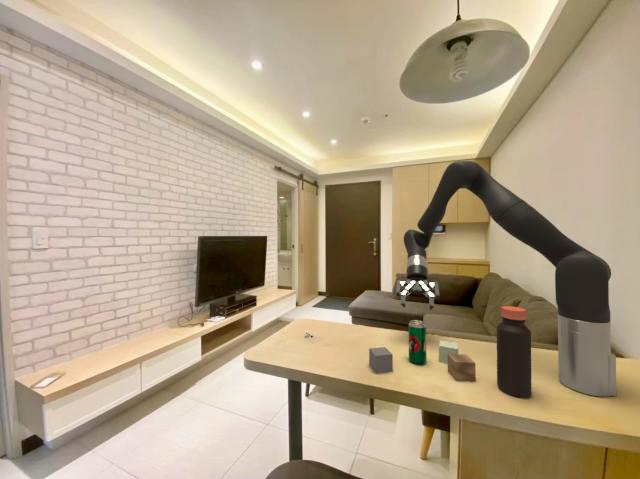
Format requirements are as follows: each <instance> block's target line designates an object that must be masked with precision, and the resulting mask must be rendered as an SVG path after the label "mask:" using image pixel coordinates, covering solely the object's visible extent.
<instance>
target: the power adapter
mask: <svg viewBox="0 0 640 479" xmlns="http://www.w3.org/2000/svg"><path fill="white" fill-rule="evenodd" d="M311 333H312V332H311V330H310V328H309V329H306V330H305V335H304V338H309V337H310V338H311V336H313V334H311ZM313 337H314V336H313Z"/></svg>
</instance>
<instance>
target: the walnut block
mask: <svg viewBox="0 0 640 479" xmlns="http://www.w3.org/2000/svg"><path fill="white" fill-rule="evenodd" d="M447 372H448V374H449V375H450V376H451V377H452V379H453V380H454V381H455V382H469V383H470V382H473V383H475V382H476V381H477V380H476V362H475V361H474V360H473V359H472V358H471V357H470V356H469V355H468V354H465V353H461V354H460V353H458V354H448V364H447Z"/></svg>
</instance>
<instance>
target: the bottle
mask: <svg viewBox="0 0 640 479" xmlns="http://www.w3.org/2000/svg"><path fill="white" fill-rule="evenodd" d="M500 315H501V316H500V318H501V319H502V321H501V322H500V323H499V324H498V325H497V326H496V385H497V388H498V389H499V390H500V391H502V392H503V393H505V394H507V395H509V396H512V397H515V398H521V399H523V398H524V399H525V398H530V397H532V393H533V392H532V331H531V330H530V329H529V327H527V326H526V324H525V322H526V320H527V310H526V309H525V308H523V307H519V306H512V305H511V306H509V305H505V306H503V305H502V306H501V307H500Z"/></svg>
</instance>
